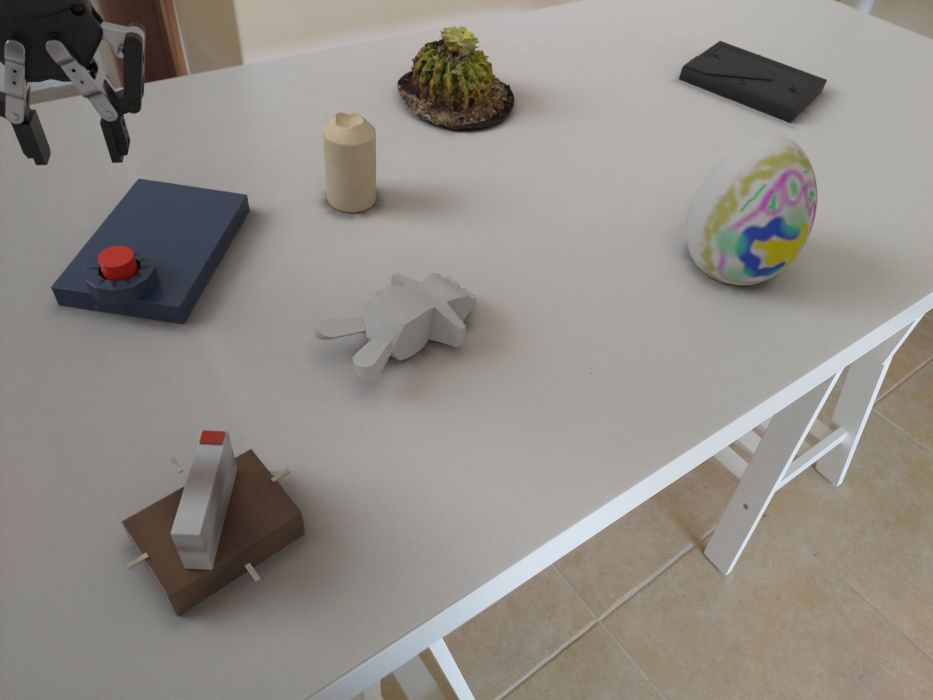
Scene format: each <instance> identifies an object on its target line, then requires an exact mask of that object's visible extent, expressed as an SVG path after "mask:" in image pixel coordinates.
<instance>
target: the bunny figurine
mask: <svg viewBox="0 0 933 700" xmlns="http://www.w3.org/2000/svg"><path fill="white" fill-rule="evenodd" d="M390 282H391V283H390V285H389V286H387V287H384V288H381V289H379V290H377V291H376V292H374V293H373V294H371V295H370V296H369V298H368V300H367V302H366V304H365V306H364V308H363V310H362V311H361V315H360V316H359V317H341V318H340V317H339V318H325V319H321V320H319V322H318V323H317V324H316V326H315V328H314V330H313V332H312V333H313V336H314V337H315V338H316V339H318V340H321V341H329V340H335V339H339V338H344V337H348V336H352V335H357V334H363V336H365V337H366V338H367V340H368V341H367V342H366V343H365V344H364V346H363V345H362V347H361V348H360V349H359V350H357V352H355V354H354V355H353V356H352V359H351V361H352V365H353V368H354V371H355V375H357V377H358V378H359V379H362V380H364V381H374V380H376V379H377V378H379V376H380V375H381V373H382V371H383V369H384V368H385V366H386V364H387V362H388V360H389V358H390V357H392V358H394V359H396V360H397V361H400V362H401V361H404V360H407V359H409V358H411V357H412V356H414V355H416V354H418V353H419V352H420V351H421V350H422V349H423V348H424V347H425V345H426V344H427V343H428V342H429V340H430V341H434V342H437V343H442V344H444V345H449V346H452V347H456V348H458V347H459V346H460V345H462V344H463V343H464V340H465V335H466V330H467V325H466V324H465V323H464V321H465V320H466V318H467V317H468V315H469V313H470V312H472V311H473V310H475V306H476V302H477V296H476V295H475V294H474V293H473V292H471V291H470V290H468V289H467V288H466V287H461V284H460V283H459V282H457V280H455V279H454V278H452V277H451V276H450V275H449V276H446V277H444V276H443V275H441V274H440V273H435V272H430V273H429V274H428V275H426V276H425V278H424V279H423V281H422V282H420V281H417V280H415V279H413V278H410V277H408V276H406V275H404V274H401V273H395V274H391V281H390Z"/></svg>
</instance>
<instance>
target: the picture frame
mask: <svg viewBox="0 0 933 700" xmlns="http://www.w3.org/2000/svg"><path fill="white" fill-rule="evenodd" d="M678 79H679V80H681V81H683V82H685V83H688V84H690V85H693V86H695V87H698V88H701V89H703V90H706V91H708V92H711V93H712V94H713V93H714V94H717V95H719V96H721V97H724V98H727V99H729V100H732V101H734V102H737V103H738V104H739V103H740V104H742V105H744V106H747V107H749V108H752V109H754V110H757V111H759V112H762V113H764V114H767V115H769V116H772V117H774V118H778V119H779V120H783V121H785V122H787V123H791V124H792V122H793V121H795V119H797V117H798V116H799V115H801V113H803V111H805V109H806V108H807V107H808V106H809V105H811V103H812V102H814V100H816V98H818V96H820V94H821V93H822V92H823V91H824V88H825V86H826V84H827V82H828V79H826V78H823V77H821V76H818V75H815V74H813V73H809V72H808V71H807V72H806V71H804V70H801V69H799V68H796V67H793V66H791V65H788V64H786V63H782V62H780V61H777V60H774V59H772V58H769V57H766V56H763V55H760V54H758V53H755V52H752V51H749V50H747V49H744V48H741V47H738V46H736V45H734V44H730V43H728V42H724V41H722V40H719V41H718V42H716V43H715V44H713V45H712V46H710V47H709V48H707V49H706V50H704V51H703V52H702V53H700V54H699V55H695V57H693V58H691V59H690V60H688V61H687V62H686V63H685V64H684V65H683V66H682V67H681V71H680V74H679V77H678Z"/></svg>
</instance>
